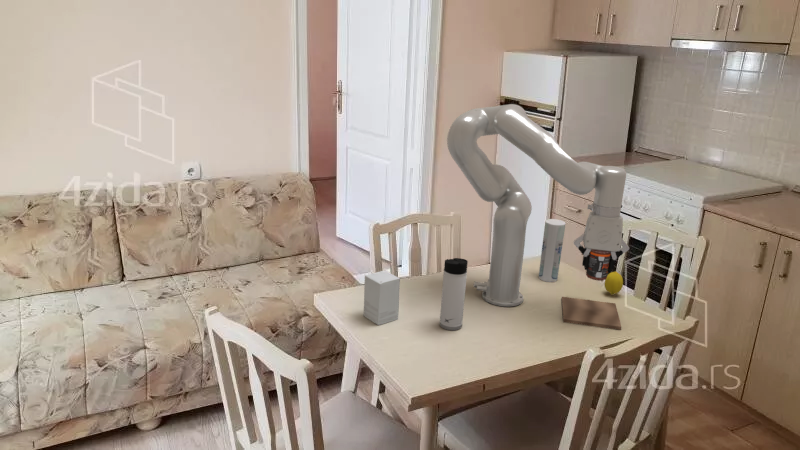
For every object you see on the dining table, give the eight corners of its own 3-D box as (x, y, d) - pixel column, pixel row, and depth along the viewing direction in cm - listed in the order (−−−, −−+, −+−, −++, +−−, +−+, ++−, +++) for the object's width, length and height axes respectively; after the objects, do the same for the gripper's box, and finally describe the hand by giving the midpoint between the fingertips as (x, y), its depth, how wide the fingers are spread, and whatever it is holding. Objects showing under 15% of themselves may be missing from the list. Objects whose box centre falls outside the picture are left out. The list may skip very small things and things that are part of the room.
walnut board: (563, 322, 184) (563, 319, 184) (561, 299, 199) (561, 296, 199) (620, 330, 181) (621, 326, 181) (614, 306, 196) (615, 303, 196)
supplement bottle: (603, 283, 182) (609, 245, 179) (583, 278, 185) (588, 241, 182) (609, 276, 187) (614, 240, 184) (589, 271, 190) (594, 235, 187)
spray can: (540, 273, 219) (547, 217, 212) (559, 277, 216) (567, 220, 210) (536, 279, 213) (543, 222, 207) (555, 283, 211) (563, 226, 204)
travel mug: (447, 333, 174) (453, 265, 168) (435, 322, 180) (440, 256, 174) (466, 329, 177) (473, 262, 171) (454, 318, 183) (459, 253, 176)
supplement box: (398, 319, 181) (401, 278, 177) (377, 326, 176) (379, 283, 172) (383, 309, 186) (385, 269, 182) (362, 315, 182) (363, 274, 178)
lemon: (621, 299, 202) (625, 275, 199) (603, 297, 203) (607, 273, 200) (619, 292, 207) (623, 269, 204) (602, 290, 208) (605, 267, 205)
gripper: (575, 210, 178) (567, 270, 184) (640, 217, 175) (630, 278, 181) (574, 203, 185) (566, 261, 191) (636, 209, 182) (626, 268, 188)
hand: (597, 269), depth 186 cm, fingers closed on supplement bottle, 6 cm apart
